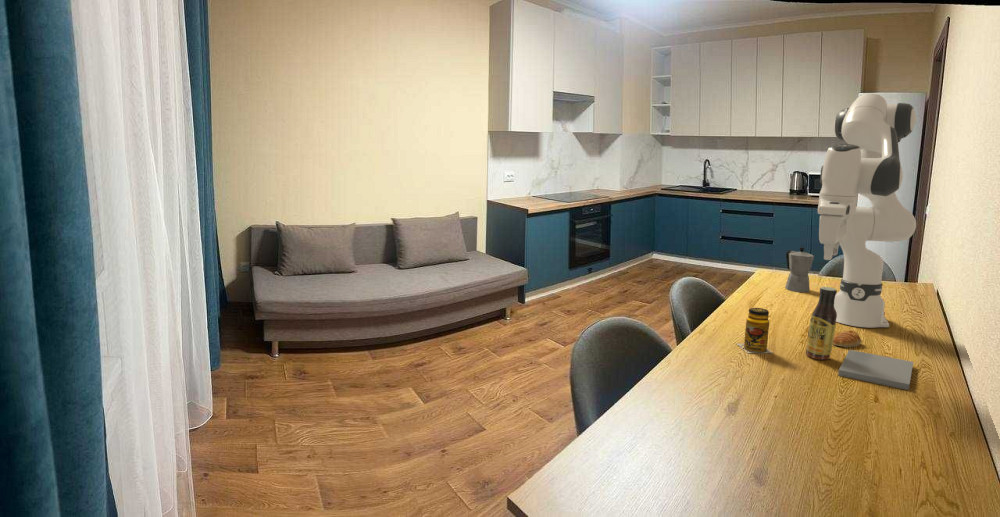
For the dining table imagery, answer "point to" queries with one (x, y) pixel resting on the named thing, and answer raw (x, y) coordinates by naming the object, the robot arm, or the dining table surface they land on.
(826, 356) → the sauce bottle
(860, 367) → the serving board
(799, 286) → the coffeepot
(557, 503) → the dining table surface
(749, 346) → the condiment
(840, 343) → the pastry
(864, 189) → the robot arm
